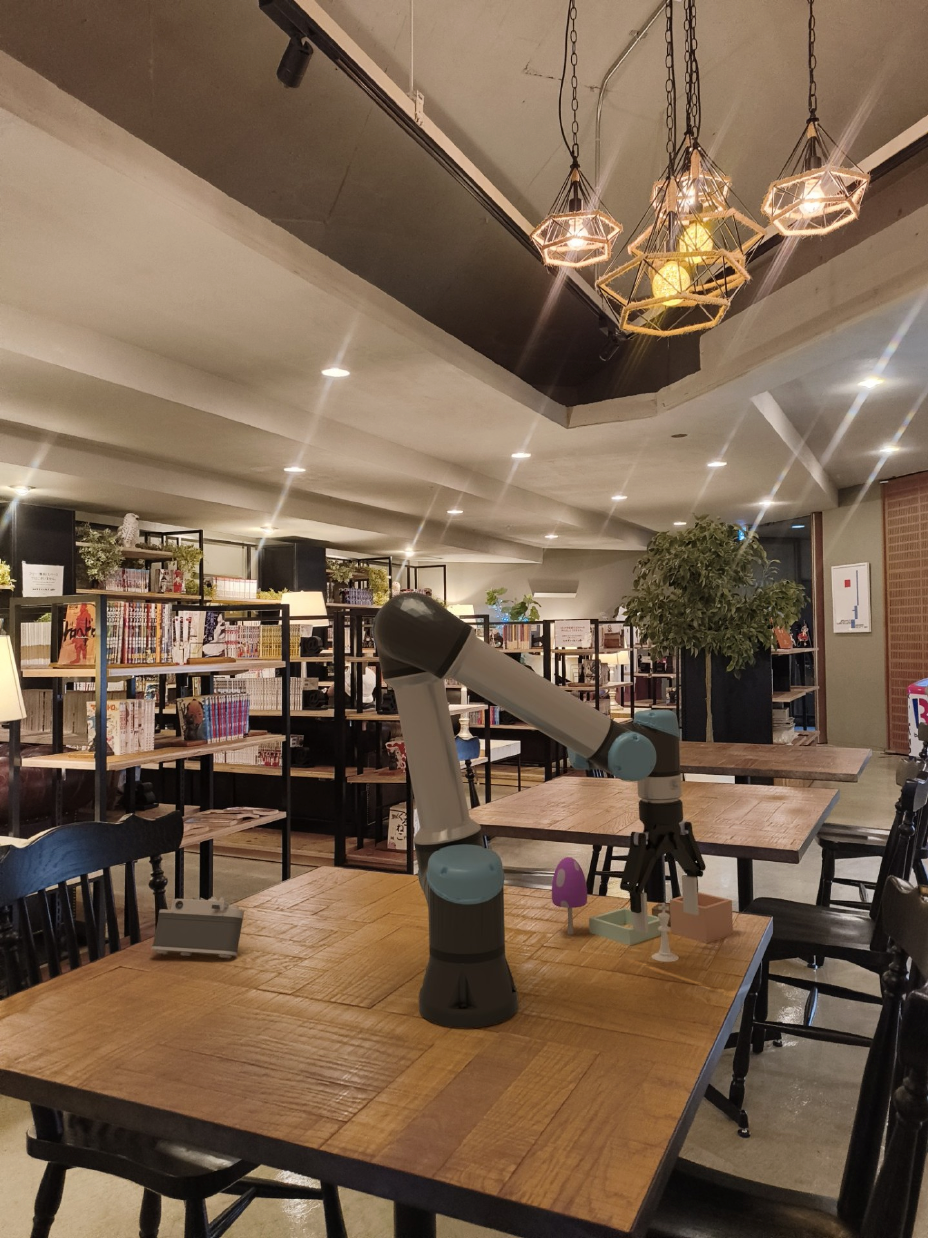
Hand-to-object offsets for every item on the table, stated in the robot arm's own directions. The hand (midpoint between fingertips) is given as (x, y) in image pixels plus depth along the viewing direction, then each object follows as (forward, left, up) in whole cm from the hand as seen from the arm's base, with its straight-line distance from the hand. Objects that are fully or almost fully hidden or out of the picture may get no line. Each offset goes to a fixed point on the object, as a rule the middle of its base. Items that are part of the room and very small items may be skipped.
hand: (666, 922), depth 152 cm
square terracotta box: (+15, +4, -7) cm, 17 cm away
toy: (-3, +20, -7) cm, 22 cm away
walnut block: (+15, +12, -7) cm, 20 cm away
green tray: (+5, +13, -7) cm, 16 cm away
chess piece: (0, 0, -7) cm, 7 cm away
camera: (-59, +60, -7) cm, 85 cm away
